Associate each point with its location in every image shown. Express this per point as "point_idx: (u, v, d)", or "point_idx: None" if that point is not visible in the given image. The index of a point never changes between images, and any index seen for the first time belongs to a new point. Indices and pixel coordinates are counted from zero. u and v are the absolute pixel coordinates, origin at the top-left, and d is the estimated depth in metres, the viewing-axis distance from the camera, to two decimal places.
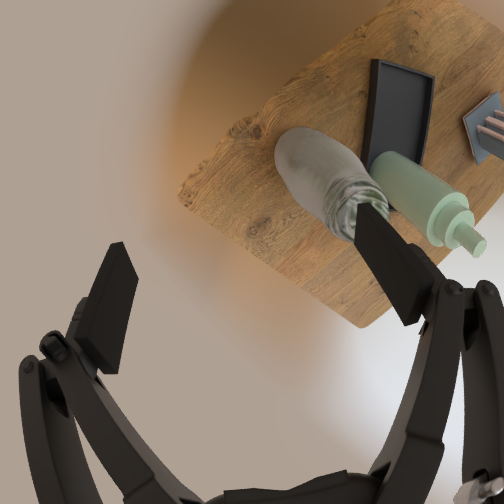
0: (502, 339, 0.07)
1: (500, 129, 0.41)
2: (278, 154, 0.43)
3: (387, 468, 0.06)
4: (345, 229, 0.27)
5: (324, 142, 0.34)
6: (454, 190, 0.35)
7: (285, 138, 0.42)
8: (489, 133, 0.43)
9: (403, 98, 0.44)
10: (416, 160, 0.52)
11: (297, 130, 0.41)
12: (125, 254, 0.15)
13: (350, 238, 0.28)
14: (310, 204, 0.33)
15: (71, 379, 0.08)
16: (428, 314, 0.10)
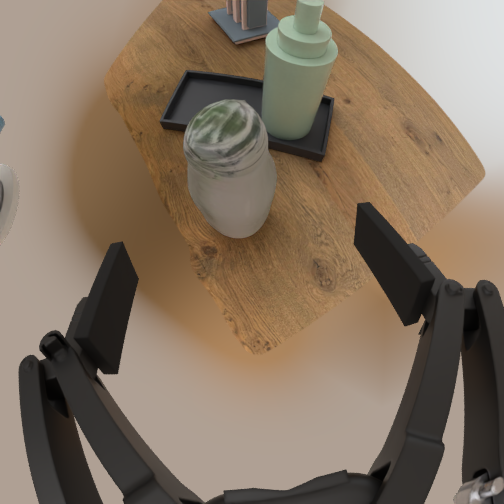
0: (502, 339, 0.07)
1: (239, 6, 0.48)
2: (222, 231, 0.41)
3: (387, 468, 0.06)
4: (223, 149, 0.21)
5: None
6: (266, 40, 0.32)
7: (206, 220, 0.42)
8: (244, 16, 0.48)
9: (206, 99, 0.51)
10: None
11: None
12: (125, 254, 0.15)
13: (241, 143, 0.21)
14: (231, 197, 0.27)
15: (71, 379, 0.08)
16: (428, 314, 0.10)
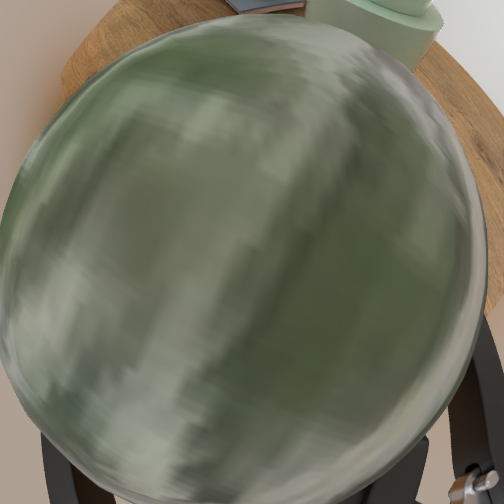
0: (479, 332, 0.07)
1: None
2: None
3: None
4: None
5: None
6: None
7: None
8: None
9: None
10: None
11: None
12: None
13: (411, 445, 0.02)
14: None
15: None
16: None
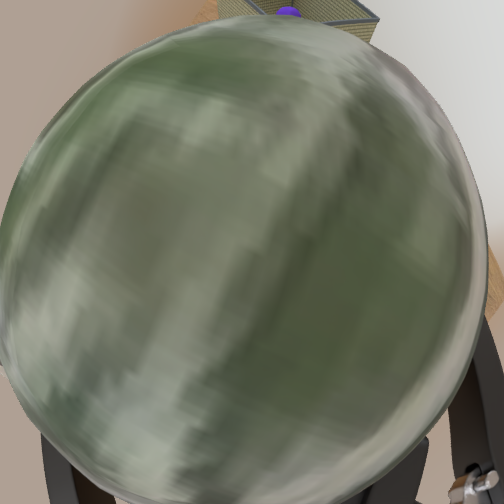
0: None
1: None
2: None
3: None
4: None
5: None
6: None
7: None
8: None
9: None
10: None
11: None
12: None
13: (411, 446, 0.02)
14: None
15: None
16: None
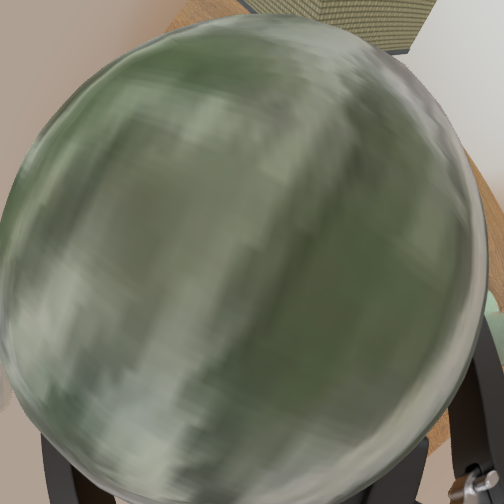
0: None
1: None
2: None
3: None
4: None
5: None
6: None
7: None
8: None
9: None
10: None
11: None
12: None
13: (411, 446, 0.02)
14: None
15: None
16: None
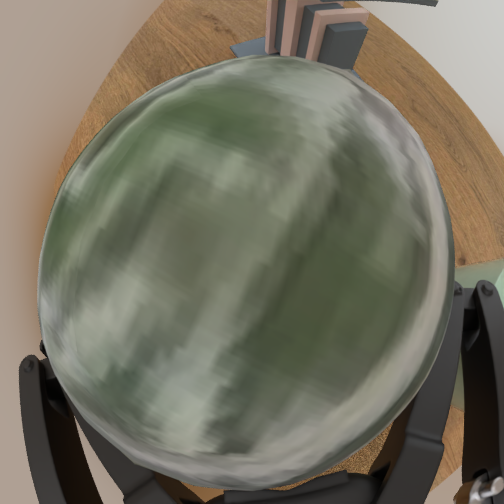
0: (502, 339, 0.07)
1: (298, 47, 0.27)
2: None
3: (387, 468, 0.06)
4: (256, 478, 0.02)
5: None
6: None
7: None
8: None
9: None
10: None
11: None
12: None
13: (386, 415, 0.03)
14: None
15: None
16: None
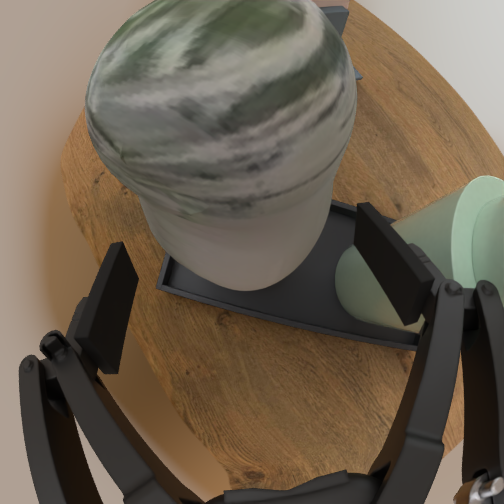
0: (502, 339, 0.07)
1: None
2: None
3: (387, 468, 0.06)
4: (206, 98, 0.04)
5: None
6: (444, 241, 0.12)
7: None
8: None
9: None
10: None
11: None
12: (125, 254, 0.15)
13: (294, 79, 0.04)
14: (240, 256, 0.11)
15: (71, 379, 0.08)
16: (428, 314, 0.10)
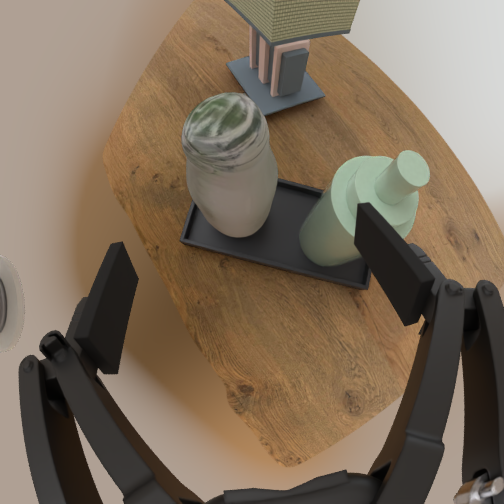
0: (502, 339, 0.07)
1: (268, 65, 0.45)
2: (222, 230, 0.40)
3: (387, 468, 0.06)
4: (222, 142, 0.20)
5: None
6: (329, 189, 0.28)
7: (206, 219, 0.41)
8: (275, 81, 0.45)
9: None
10: (315, 194, 0.47)
11: None
12: (125, 254, 0.15)
13: (242, 137, 0.20)
14: (232, 194, 0.27)
15: (71, 379, 0.08)
16: (428, 314, 0.10)
